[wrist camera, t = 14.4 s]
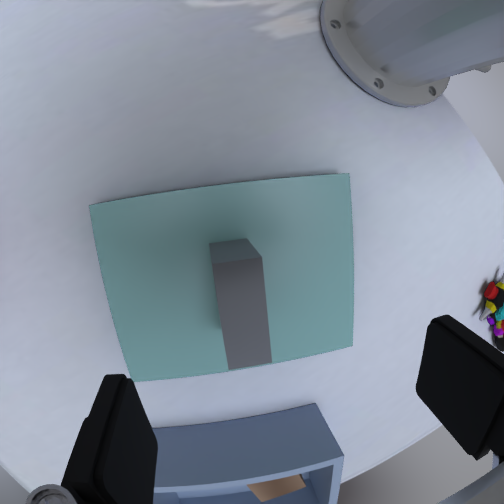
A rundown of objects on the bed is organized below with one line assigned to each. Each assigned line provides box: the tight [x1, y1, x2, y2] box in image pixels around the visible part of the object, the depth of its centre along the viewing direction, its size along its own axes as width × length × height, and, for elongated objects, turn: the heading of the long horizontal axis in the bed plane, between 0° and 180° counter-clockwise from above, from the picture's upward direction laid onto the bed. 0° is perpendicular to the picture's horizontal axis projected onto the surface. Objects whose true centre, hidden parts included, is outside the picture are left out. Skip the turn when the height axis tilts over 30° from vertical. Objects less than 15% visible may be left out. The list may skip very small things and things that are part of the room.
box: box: [152, 403, 344, 504], centre depth 23 cm, size 16×12×7 cm
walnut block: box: [247, 474, 306, 502], centre depth 24 cm, size 4×4×4 cm
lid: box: [89, 173, 354, 382], centre depth 19 cm, size 17×13×7 cm
